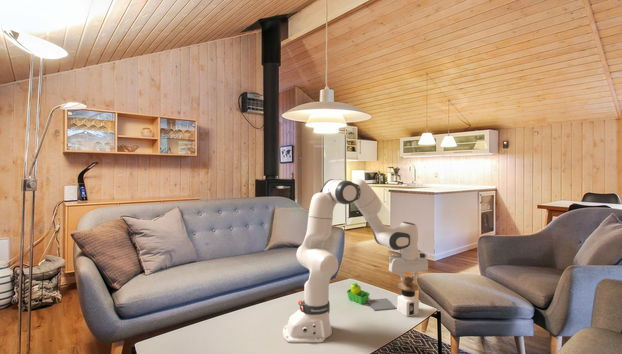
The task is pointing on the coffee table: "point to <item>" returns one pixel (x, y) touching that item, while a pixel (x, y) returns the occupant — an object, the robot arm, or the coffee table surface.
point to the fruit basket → (357, 294)
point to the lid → (408, 285)
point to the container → (408, 304)
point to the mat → (381, 304)
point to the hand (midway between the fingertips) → (408, 280)
